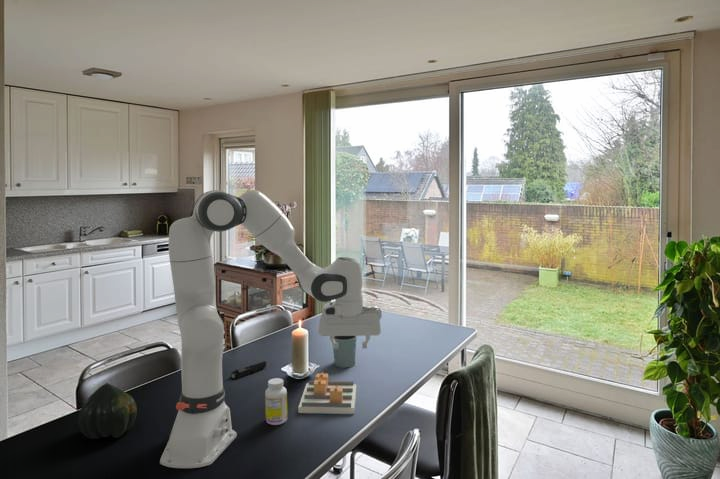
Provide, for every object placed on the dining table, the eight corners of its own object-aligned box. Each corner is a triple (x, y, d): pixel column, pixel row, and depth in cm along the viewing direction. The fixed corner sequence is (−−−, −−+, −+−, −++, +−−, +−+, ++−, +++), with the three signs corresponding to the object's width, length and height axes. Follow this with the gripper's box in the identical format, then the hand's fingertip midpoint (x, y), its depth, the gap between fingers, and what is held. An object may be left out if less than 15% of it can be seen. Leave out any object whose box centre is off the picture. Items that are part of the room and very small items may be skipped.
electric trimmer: (268, 369, 182) (268, 361, 182) (235, 381, 171) (234, 372, 171) (263, 367, 185) (262, 359, 185) (229, 378, 173) (229, 370, 173)
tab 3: (342, 404, 147) (342, 389, 147) (329, 404, 148) (329, 389, 147) (342, 400, 150) (342, 385, 150) (330, 400, 150) (330, 385, 150)
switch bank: (354, 414, 145) (354, 404, 145) (298, 412, 146) (298, 403, 146) (356, 389, 163) (356, 380, 163) (306, 388, 164) (306, 380, 164)
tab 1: (327, 389, 158) (327, 375, 158) (315, 389, 159) (315, 375, 158) (328, 385, 161) (328, 372, 161) (317, 385, 162) (316, 371, 161)
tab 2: (325, 396, 153) (325, 382, 152) (313, 396, 153) (313, 381, 153) (326, 392, 156) (326, 378, 155) (314, 392, 156) (314, 378, 156)
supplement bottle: (277, 413, 146) (277, 374, 145) (291, 419, 142) (291, 380, 140) (261, 421, 141) (260, 381, 139) (275, 428, 137) (274, 387, 135)
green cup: (360, 366, 185) (360, 338, 183) (336, 370, 181) (336, 341, 180) (351, 358, 194) (351, 330, 193) (328, 361, 190) (328, 333, 189)
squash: (106, 435, 122) (127, 380, 131) (58, 432, 125) (82, 378, 134) (135, 446, 134) (152, 395, 142) (90, 443, 136) (110, 393, 145)
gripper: (381, 303, 149) (381, 344, 151) (319, 304, 150) (320, 345, 151) (381, 309, 143) (382, 351, 145) (317, 309, 143) (318, 351, 145)
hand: (350, 348), depth 148 cm, fingers open, 8 cm apart
